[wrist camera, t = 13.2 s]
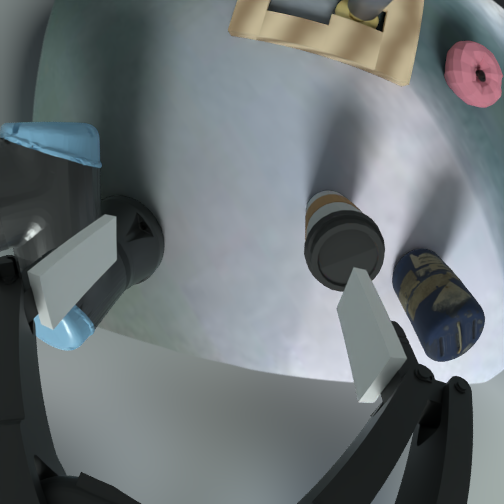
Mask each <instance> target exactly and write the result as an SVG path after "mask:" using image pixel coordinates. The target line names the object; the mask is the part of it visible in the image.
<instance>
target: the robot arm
mask: <svg viewBox="0 0 504 504" xmlns="http://www.w3.org/2000/svg"><path fill="white" fill-rule="evenodd" d="M0 137H1V138H0V251H3V250H6V249H10V248H13V251H14V255H15V256H13V255H6V256H2V257H0V504H141V503H139V502H137V501H136V500H134V499H132V498H131V497H129V496H128V495H126V494H124V493H123V492H121V491H120V490H118V489H117V488H115V487H114V486H112V485H109V484H107V483H105V482H102V481H100V480H97V479H95V478H93V477H91V476H89V475H86V474H84V473H82V472H81V473H80V476H79V477H76V476H67V475H66V473H65V471H64V469H63V467H62V465H61V463H60V461H59V459H58V457H57V455H56V452H55V448H54V445H53V441H52V437H51V433H50V429H49V425H48V421H47V416H46V411H45V406H44V400H43V394H42V388H41V382H40V374H39V366H38V357H37V345H36V336H37V337H38V338H39V339H41V340H42V341H44V342H46V343H47V344H49V345H51V346H53V347H55V348H58V349H62V350H74V349H76V348H78V347H79V346H81V345H82V344H83V342H84V341H85V340H86V339H87V338H88V337H89V336H90V335H92V334H93V333H94V331H95V329H96V327H97V326H98V325H99V323H100V322H101V321H102V319H103V318H104V317H105V315H106V314H107V313H108V311H109V310H110V309H111V307H112V306H113V305H114V304H115V302H116V301H117V300H118V298H119V297H120V296H121V295H122V293H123V292H124V291H125V290H126V289H128V288H130V287H131V286H133V285H135V284H139V283H141V282H143V281H145V280H146V279H148V278H149V277H150V276H151V275H152V274H153V273H154V271H155V270H156V269H157V268H158V266H159V265H160V263H161V260H162V258H163V253H164V240H163V235H162V231H161V229H160V226H159V224H158V222H157V220H156V219H155V217H154V216H153V214H152V213H151V212H150V211H149V210H148V209H147V208H146V207H145V206H144V205H142V204H141V203H140V202H138V201H136V200H134V199H132V198H129V197H126V196H111V197H108V198H106V199H104V200H102V201H101V190H100V168H101V167H102V163H101V162H100V138H99V133H98V131H97V129H96V128H95V127H94V126H92V125H91V124H88V123H75V122H24V123H23V122H20V123H5V124H3V125H2V127H1V130H0ZM337 312H338V316H339V319H340V323H341V327H342V332H343V336H344V340H345V344H346V348H347V353H348V357H349V361H350V366H351V370H352V375H353V380H354V384H355V389H356V394H357V399H358V402H366V403H374V402H375V401H376V399H377V398H378V397H379V396H380V394H381V397H382V400H383V402H382V403H381V404H380V405H379V406H378V408H377V409H376V410H375V411H374V412H373V413H372V415H371V418H370V420H369V421H368V422H367V424H366V425H365V427H364V428H363V429H362V430H361V432H360V433H359V435H358V436H357V437H356V438H355V440H354V441H353V442H352V444H351V445H350V446H349V447H348V449H347V450H346V451H345V452H344V453H343V455H342V456H341V457H340V458H339V459H338V461H337V462H336V463H335V464H334V465H333V466H332V468H331V469H330V470H329V471H328V472H327V473H326V474H325V475H324V476H323V478H322V479H321V480H320V481H319V482H318V483H317V484H316V485H315V486H314V487H313V488H312V489H311V490H310V491H309V492H308V493H307V494H306V495H305V496H304V497H303V498H302V499H301V500H300V501H299V502H298V503H297V504H370V503H371V502H372V501H373V499H374V498H375V496H376V494H377V493H378V491H379V490H380V489H381V487H382V486H383V484H384V483H385V481H386V480H387V478H388V476H389V475H390V473H391V471H392V470H393V468H394V466H395V465H396V463H397V461H398V459H399V458H400V456H401V454H402V452H403V451H404V448H405V447H406V445H407V443H408V441H409V439H410V437H411V435H412V433H413V437H412V442H411V446H410V451H409V456H408V459H407V464H406V467H405V471H404V475H403V478H402V482H401V485H400V489H399V492H398V495H397V498H396V501H395V504H467V499H468V493H469V486H470V476H471V465H472V448H473V407H472V391H471V387H470V386H469V384H468V382H467V381H466V380H465V379H463V378H461V377H458V376H453V377H452V378H451V379H450V380H449V381H448V382H447V383H444V382H441V381H437V380H435V378H434V375H433V373H432V372H431V370H430V369H428V368H427V367H426V366H424V365H422V364H418V361H417V359H416V357H415V355H414V352H413V350H412V348H411V346H410V344H409V341H408V339H407V338H406V335H405V333H404V331H403V329H402V328H401V327H400V325H399V324H398V323H397V322H395V321H391V320H390V318H389V316H388V314H387V312H386V310H385V307H384V305H383V303H382V301H381V299H380V297H379V295H378V293H377V291H376V289H375V287H374V285H373V283H372V281H371V279H370V277H369V275H368V273H367V271H366V270H364V269H359V268H355V267H353V270H352V272H351V275H350V277H349V280H348V282H347V285H346V287H345V290H344V292H343V295H342V297H341V299H340V302H339V304H338V306H337Z"/></svg>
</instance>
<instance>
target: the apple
mask: <svg viewBox="0 0 504 504" xmlns="http://www.w3.org/2000/svg"><path fill="white" fill-rule="evenodd" d="M444 77H445V80H446V82H447V84H448V86H449V87H450V88H451V89H452V90H453V92H454V93H455V94H456V95H457V96H458V97H460V98H461V99H462V100H463V101H464V102H465V103H467V104H469V105H473V106H477V107H488V106H490V105H492V104H494V103H495V102H496V101H497V100H498V99H499V98H500V97H501V84H502V83H501V79H502V77H503V75H502V72H501V69H500V67H499V64H498V62H497V60H496V59H495V57H494V55H493V54H492V53H491V52H490V51H489V50H488V49H487V48H485V47H484V46H483V45H480V44H478V43H476V42H473V41H460V42H456V43H455V44H454V45H453V46H452V47H451V48H450V50H449V51H448V52H447V57H446V63H445V74H444Z"/></svg>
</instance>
